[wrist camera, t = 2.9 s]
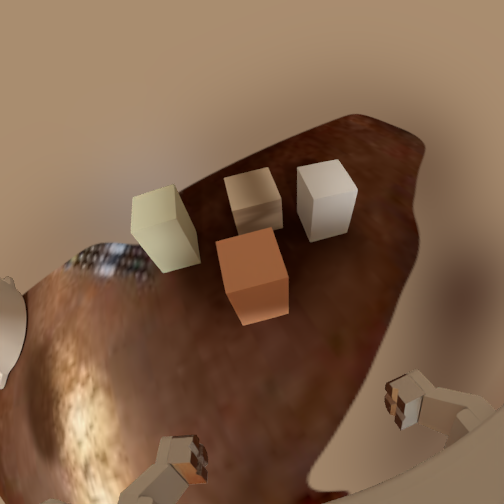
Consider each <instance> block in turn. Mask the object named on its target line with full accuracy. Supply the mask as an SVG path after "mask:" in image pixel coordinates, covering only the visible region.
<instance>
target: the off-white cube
mask: <svg viewBox="0 0 504 504" xmlns="http://www.w3.org/2000/svg"><path fill="white" fill-rule="evenodd" d="M224 181H225V185H226V189H227V193H228V197H229V201H230V205H231V209H232V213H233V217H234V220H235V224H236V228H237V231H238V235H243V234H246V233H250V232H254V231H258V230H262V229H266V228H270V227H272V229H273V230H277V229H281V228H283V219H282V200H281V197H280V194H279V192H278V189H277V187H276V185H275V182H274V180H273V178H272V175H271V173H270V171H269V168H268V167H266V168H262V169H258V170H254V171H249V172H245V173H241V174H237V175H233V176H230V177H226V178H224Z"/></svg>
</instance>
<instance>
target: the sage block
mask: <svg viewBox="0 0 504 504" xmlns="http://www.w3.org/2000/svg"><path fill="white" fill-rule="evenodd" d="M131 234H132V235H133V236H134V237H135V239H136V240H137V241H138V243H139V244H140V245H141V246H142V248H143V249H144V250H145V251H146V253H147V254H148V255H149V256H150V258H151V259H152V260H153V261H154V263H155V264H156V265H157V266H158V267H159V269H160V270H161V271H162V272H163V273H166V272H169V271H173V270H177V269H181V268H184V267H188V266H192V265H196V264H200V263H201V260H200V254H199V247H198V240H197V233H196V230H195V227H194V225H193V223H192V221H191V219H190V217H189V215H188V213H187V211H186V209H185V206H184V204H183V202H182V200H181V198H180V196H179V194H178V191H177V189H176V187H175V185H174V184H173V185H170V186H166V187H163V188H160V189H157V190H154V191H151V192H148V193H145V194H142V195H139V196H136V197H133V203H132V218H131Z"/></svg>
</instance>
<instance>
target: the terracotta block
mask: <svg viewBox="0 0 504 504" xmlns="http://www.w3.org/2000/svg"><path fill="white" fill-rule="evenodd" d="M216 247H217V252H218V257H219V262H220V267H221V272H222V277H223V282H224V287H225V292H226V295H227V297H228V299H229V301H230V302H231V304H232V306H233V308H234V310H235V312H236V314H237V315H238V317H239V319H240V321H241V323H242V325H247V324H251V323H255V322H259V321H263V320H267V319H270V318H274V317H278V316H281V315H285V314H288V313H289V277H288V274H287V271H286V268H285V265H284V262H283V259H282V256H281V253H280V250H279V247H278V244H277V241H276V238H275V235H274V232H273V229H272V227H270V228H266V229H262V230H258V231H254V232H250V233H246V234H243V235H239V236H235V237H231V238H228V239H224V240H220V241H216Z"/></svg>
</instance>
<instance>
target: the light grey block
mask: <svg viewBox="0 0 504 504" xmlns="http://www.w3.org/2000/svg"><path fill="white" fill-rule="evenodd" d="M357 191H358V189H357V187H356V186H355V184H354V183H353V181H352V179H351V178H350V176H349V175H348V173H347V172H346V170H345V169H344V167H343V166H342V164H341V163H340V161H339V160H338V159H337V160H332V161H326V162H321V163H316V164H311V165H306V166H301V167H297V213H298V215H299V218H300V220H301V222H302V225H303V227H304V230H305V232H306V234H307V237H308V239H309V242H314V241H318V240H321V239H325V238H329V237H332V236H336V235H340V234H344V233H347V231H348V227H349V223H350V220H351V216H352V212H353V208H354V204H355V200H356V196H357Z"/></svg>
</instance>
